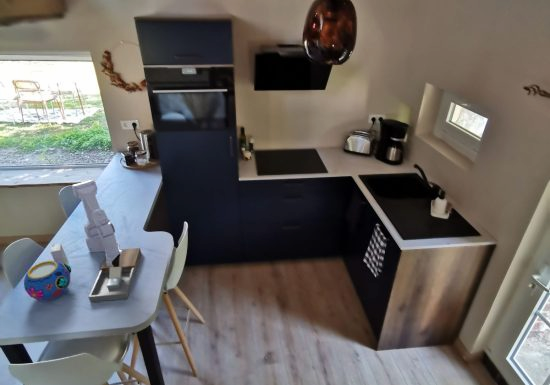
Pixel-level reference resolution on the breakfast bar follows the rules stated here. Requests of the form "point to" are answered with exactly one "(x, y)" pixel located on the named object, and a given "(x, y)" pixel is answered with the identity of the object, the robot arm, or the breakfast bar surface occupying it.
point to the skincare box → (59, 254)
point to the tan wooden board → (125, 259)
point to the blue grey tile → (114, 282)
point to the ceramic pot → (47, 280)
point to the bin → (105, 294)
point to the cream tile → (115, 272)
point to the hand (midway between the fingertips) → (116, 266)
